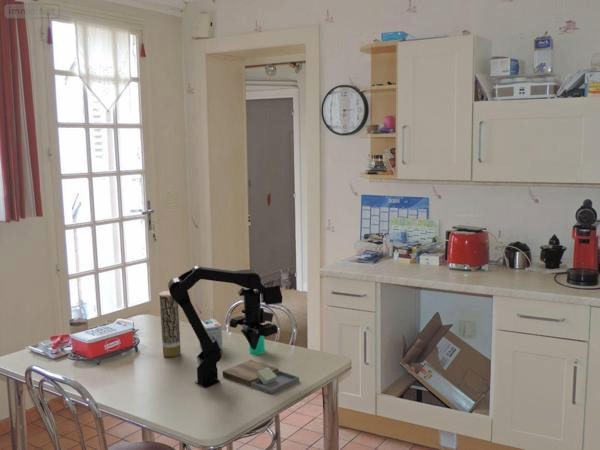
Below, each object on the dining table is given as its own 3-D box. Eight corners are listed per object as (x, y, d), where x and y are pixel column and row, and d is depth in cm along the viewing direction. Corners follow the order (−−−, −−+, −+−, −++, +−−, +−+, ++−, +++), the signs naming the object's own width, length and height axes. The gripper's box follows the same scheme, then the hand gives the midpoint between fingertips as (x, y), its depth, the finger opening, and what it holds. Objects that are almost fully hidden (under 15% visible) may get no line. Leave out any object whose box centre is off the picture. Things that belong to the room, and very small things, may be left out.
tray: (271, 394, 207) (271, 389, 207) (251, 386, 214) (250, 382, 214) (299, 381, 217) (298, 377, 217) (278, 374, 224) (278, 370, 224)
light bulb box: (199, 346, 255) (198, 320, 253) (215, 343, 258) (214, 318, 256) (206, 354, 245) (205, 328, 243) (223, 351, 248) (222, 325, 246)
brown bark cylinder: (176, 358, 242) (173, 295, 238) (160, 357, 243) (156, 294, 239) (183, 352, 248) (180, 290, 244) (167, 351, 250) (163, 290, 246)
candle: (265, 349, 249) (264, 320, 248) (263, 354, 244) (262, 324, 242) (250, 348, 250) (249, 319, 248) (248, 354, 244) (247, 324, 242)
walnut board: (250, 386, 214) (249, 381, 214) (222, 376, 223) (222, 371, 223) (278, 373, 224) (278, 368, 224) (251, 364, 233) (250, 359, 233)
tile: (264, 384, 214) (266, 380, 213) (255, 375, 217) (257, 371, 216) (275, 380, 218) (277, 376, 217) (266, 371, 221) (268, 366, 220)
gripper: (287, 305, 218) (289, 348, 221) (250, 296, 230) (252, 337, 233) (265, 313, 210) (266, 357, 212) (227, 303, 222) (229, 346, 225)
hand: (254, 349), depth 221 cm, fingers closed
